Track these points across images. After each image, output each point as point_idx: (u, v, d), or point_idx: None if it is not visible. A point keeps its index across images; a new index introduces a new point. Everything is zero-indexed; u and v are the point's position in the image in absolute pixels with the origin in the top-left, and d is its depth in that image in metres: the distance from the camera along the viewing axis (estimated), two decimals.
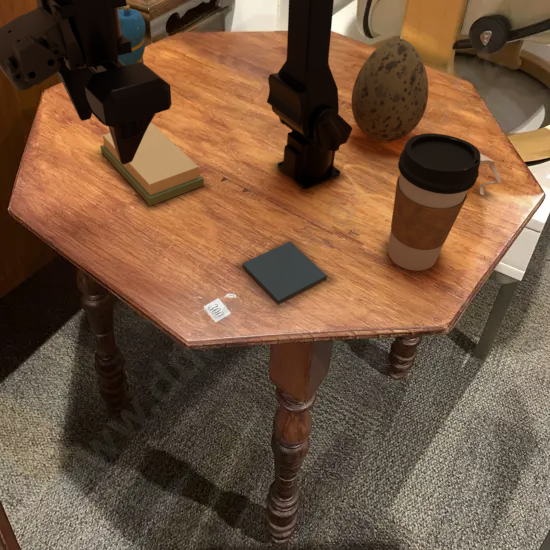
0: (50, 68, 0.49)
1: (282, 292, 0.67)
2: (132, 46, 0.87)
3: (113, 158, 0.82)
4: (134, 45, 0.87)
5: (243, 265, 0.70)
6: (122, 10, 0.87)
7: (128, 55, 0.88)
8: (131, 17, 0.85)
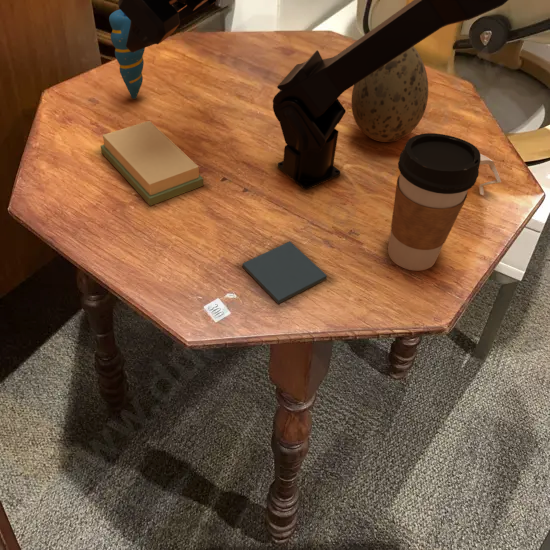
0: None
1: (282, 292, 0.67)
2: None
3: (113, 158, 0.82)
4: None
5: (243, 265, 0.70)
6: None
7: (128, 55, 0.88)
8: None
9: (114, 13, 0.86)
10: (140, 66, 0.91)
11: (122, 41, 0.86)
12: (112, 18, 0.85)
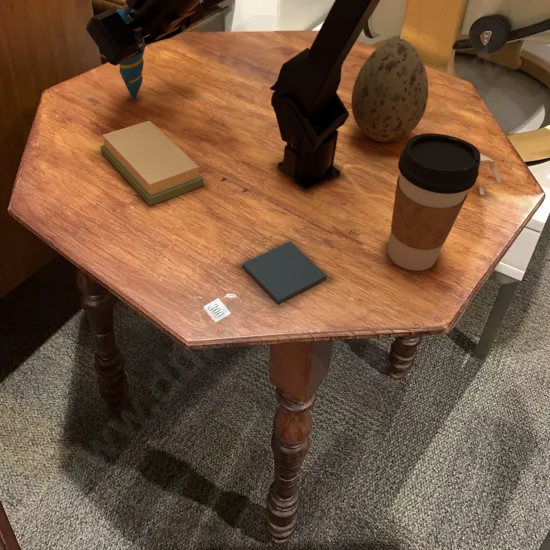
0: None
1: (282, 292, 0.67)
2: None
3: (113, 158, 0.82)
4: None
5: (243, 265, 0.70)
6: (122, 10, 0.87)
7: None
8: None
9: None
10: (140, 66, 0.91)
11: None
12: None
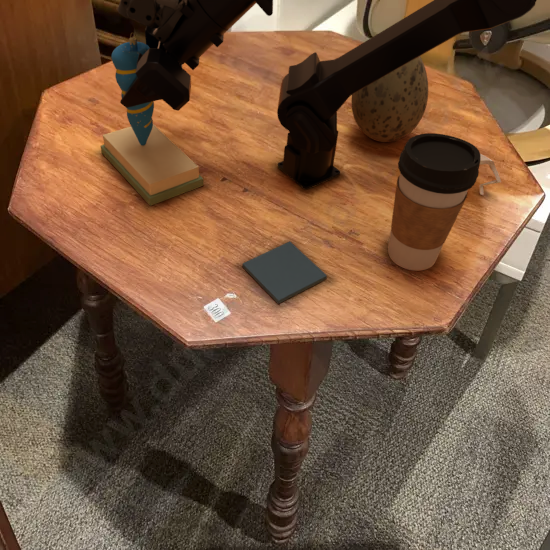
0: (145, 19, 0.66)
1: (282, 292, 0.67)
2: None
3: (113, 158, 0.82)
4: None
5: (243, 265, 0.70)
6: (124, 46, 0.72)
7: None
8: (145, 50, 0.72)
9: (121, 51, 0.71)
10: (153, 104, 0.77)
11: None
12: (124, 57, 0.71)
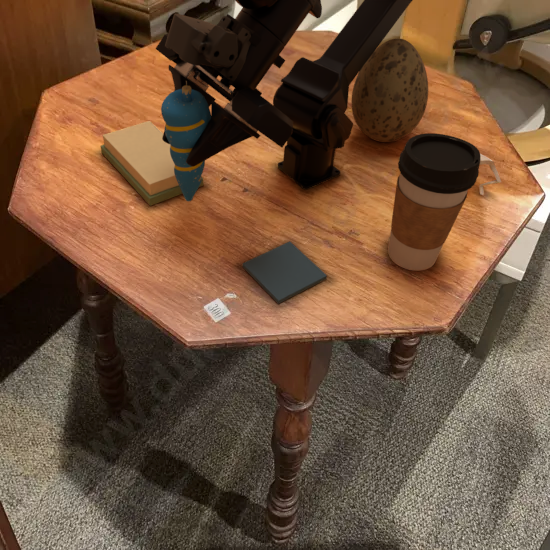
0: (227, 60, 0.57)
1: (282, 292, 0.67)
2: None
3: (113, 158, 0.82)
4: None
5: (243, 265, 0.70)
6: (175, 98, 0.61)
7: None
8: (201, 96, 0.62)
9: (181, 105, 0.61)
10: None
11: None
12: (190, 111, 0.61)
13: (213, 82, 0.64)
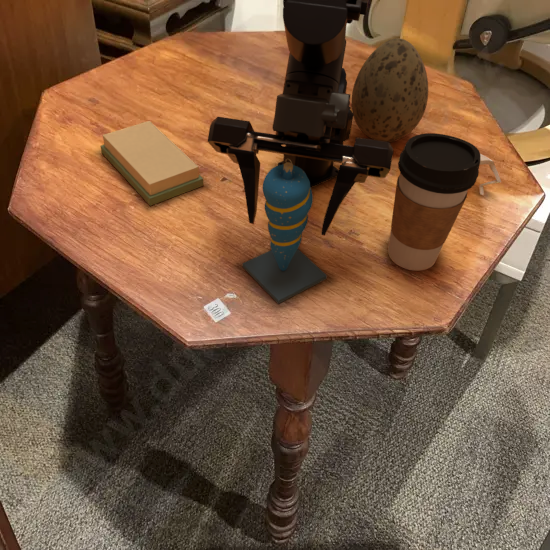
0: (345, 120, 0.58)
1: (282, 292, 0.67)
2: None
3: (113, 158, 0.82)
4: None
5: (243, 265, 0.70)
6: (282, 180, 0.59)
7: None
8: (296, 166, 0.61)
9: (297, 183, 0.59)
10: None
11: None
12: (307, 184, 0.60)
13: (290, 148, 0.63)
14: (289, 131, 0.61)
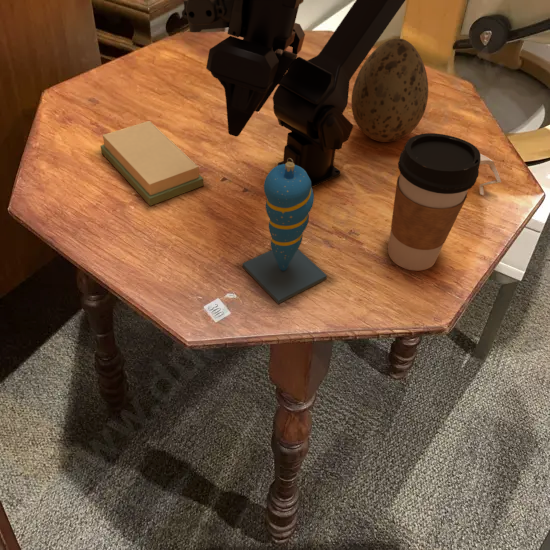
0: (206, 17, 0.60)
1: (282, 292, 0.67)
2: None
3: (113, 158, 0.82)
4: None
5: (243, 265, 0.70)
6: (284, 179, 0.59)
7: None
8: (297, 166, 0.61)
9: (299, 182, 0.59)
10: None
11: None
12: (308, 184, 0.60)
13: None
14: None
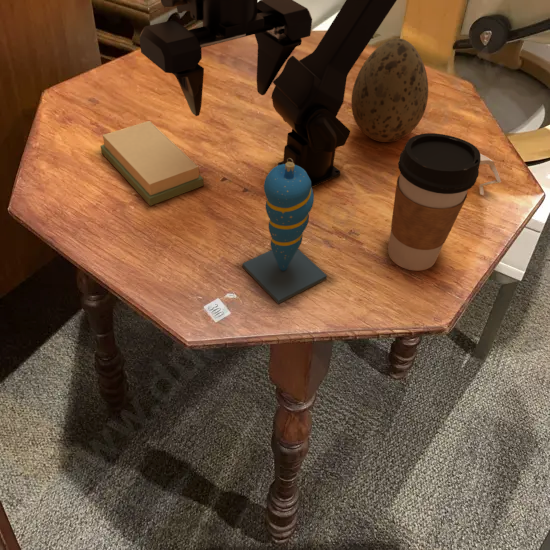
0: (169, 0, 0.64)
1: (282, 292, 0.67)
2: None
3: (113, 158, 0.82)
4: None
5: (243, 265, 0.70)
6: (284, 179, 0.59)
7: None
8: (297, 166, 0.61)
9: (299, 182, 0.59)
10: None
11: None
12: (308, 184, 0.60)
13: None
14: None
